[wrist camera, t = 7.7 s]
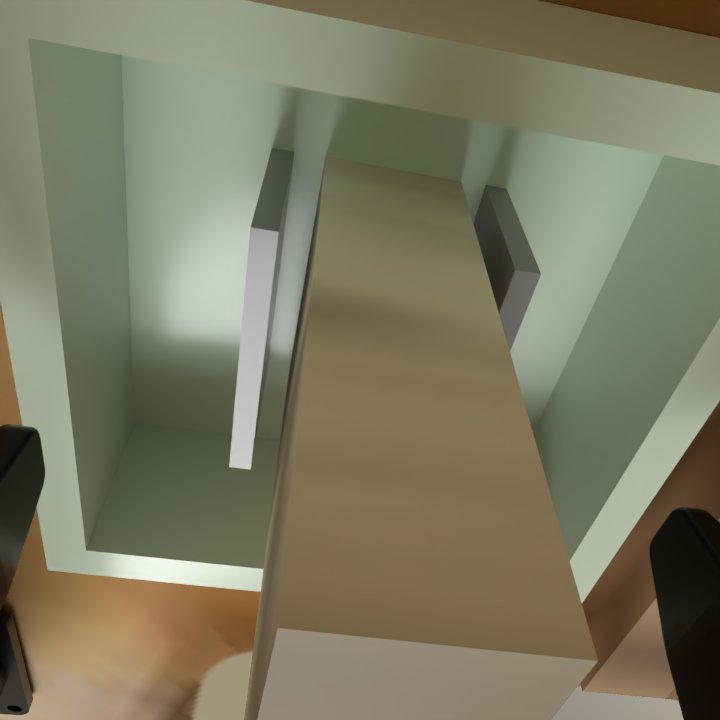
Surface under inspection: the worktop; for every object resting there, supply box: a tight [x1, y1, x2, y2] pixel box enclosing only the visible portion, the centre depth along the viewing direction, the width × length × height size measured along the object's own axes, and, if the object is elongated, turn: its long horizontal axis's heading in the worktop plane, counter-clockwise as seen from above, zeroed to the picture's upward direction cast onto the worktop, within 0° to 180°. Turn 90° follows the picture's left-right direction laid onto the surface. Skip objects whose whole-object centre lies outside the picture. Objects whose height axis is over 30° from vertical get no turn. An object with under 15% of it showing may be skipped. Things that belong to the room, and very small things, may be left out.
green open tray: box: [0, 0, 720, 603], centre depth 12 cm, size 11×11×4 cm
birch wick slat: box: [244, 156, 598, 720], centre depth 10 cm, size 5×2×9 cm, turn 169°
